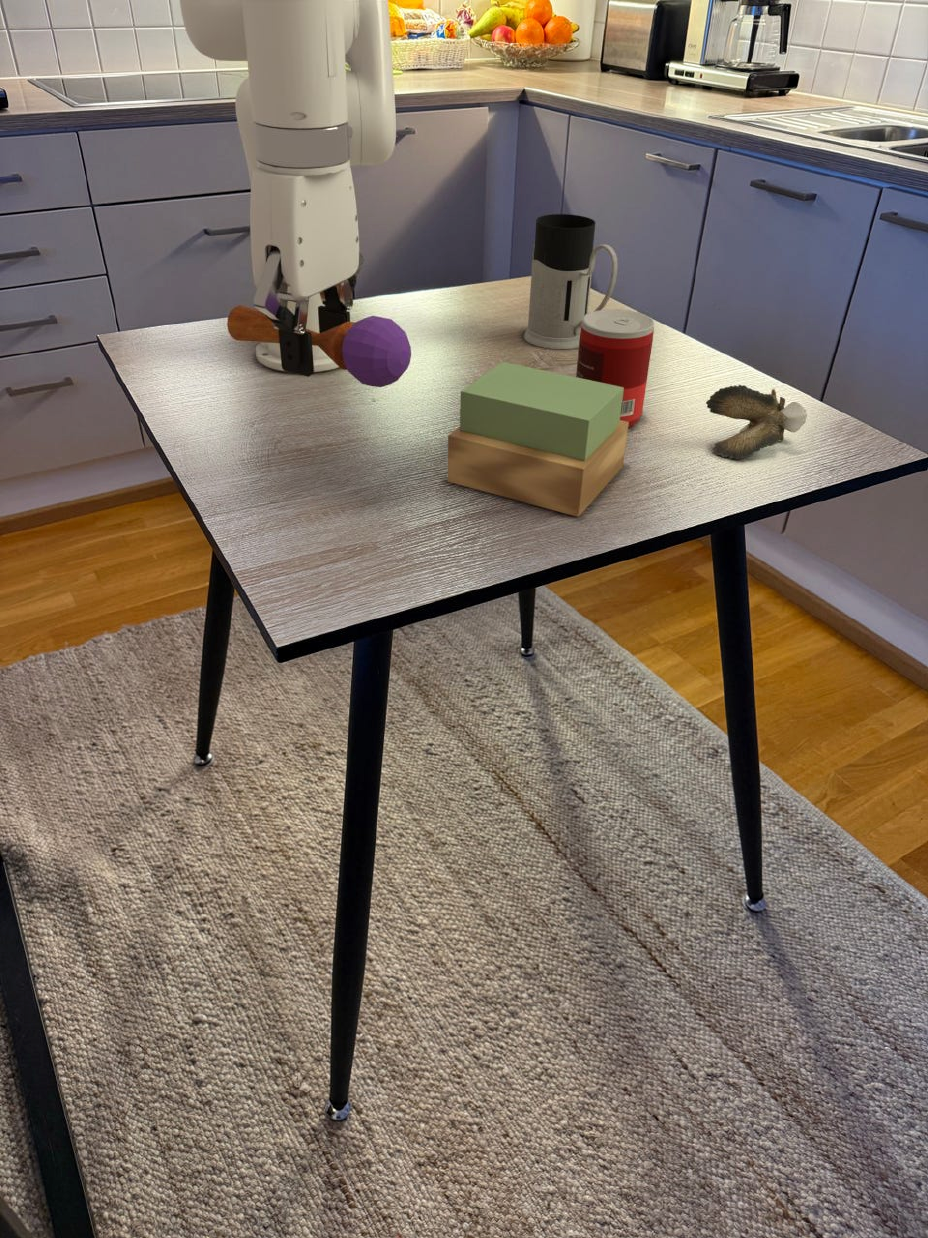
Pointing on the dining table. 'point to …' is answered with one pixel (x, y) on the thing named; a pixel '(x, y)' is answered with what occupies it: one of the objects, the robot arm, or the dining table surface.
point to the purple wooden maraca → (340, 344)
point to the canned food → (617, 355)
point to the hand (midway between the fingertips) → (317, 359)
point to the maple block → (534, 470)
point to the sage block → (541, 410)
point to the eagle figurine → (754, 419)
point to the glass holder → (562, 279)
